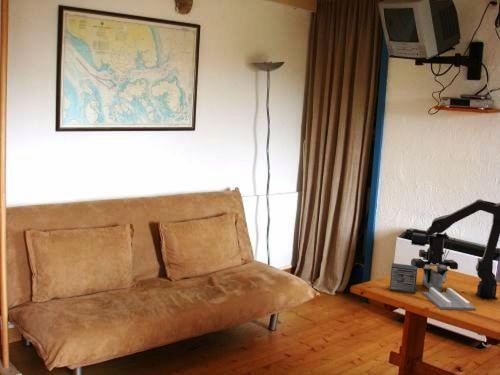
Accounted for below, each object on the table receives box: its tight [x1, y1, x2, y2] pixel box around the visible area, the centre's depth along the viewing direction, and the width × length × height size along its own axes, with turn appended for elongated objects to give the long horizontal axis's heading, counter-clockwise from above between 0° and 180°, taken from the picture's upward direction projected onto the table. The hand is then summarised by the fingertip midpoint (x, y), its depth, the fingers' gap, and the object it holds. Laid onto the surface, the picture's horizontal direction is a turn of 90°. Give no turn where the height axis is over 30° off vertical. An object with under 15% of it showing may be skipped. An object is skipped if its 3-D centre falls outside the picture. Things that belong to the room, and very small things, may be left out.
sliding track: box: [422, 287, 476, 311], centre depth 244 cm, size 14×18×3 cm
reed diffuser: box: [435, 238, 456, 283], centre depth 274 cm, size 10×7×20 cm
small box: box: [388, 262, 418, 294], centre depth 255 cm, size 11×6×10 cm, turn 74°
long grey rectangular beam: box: [422, 267, 444, 292], centre depth 260 cm, size 4×12×7 cm, turn 6°
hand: (432, 283), depth 260 cm, fingers closed on long grey rectangular beam, 3 cm apart
